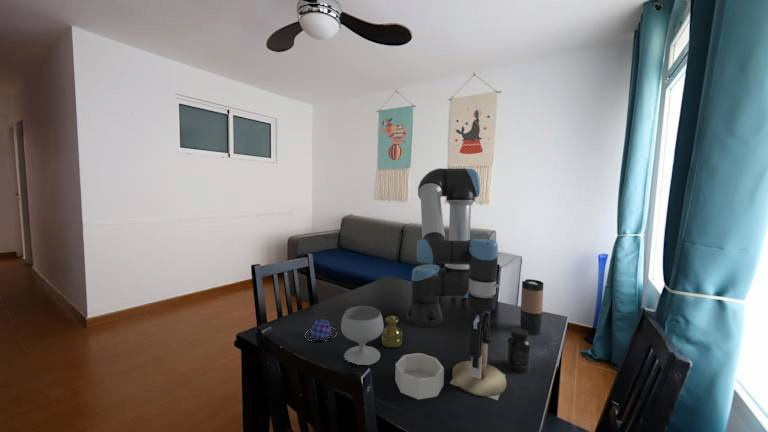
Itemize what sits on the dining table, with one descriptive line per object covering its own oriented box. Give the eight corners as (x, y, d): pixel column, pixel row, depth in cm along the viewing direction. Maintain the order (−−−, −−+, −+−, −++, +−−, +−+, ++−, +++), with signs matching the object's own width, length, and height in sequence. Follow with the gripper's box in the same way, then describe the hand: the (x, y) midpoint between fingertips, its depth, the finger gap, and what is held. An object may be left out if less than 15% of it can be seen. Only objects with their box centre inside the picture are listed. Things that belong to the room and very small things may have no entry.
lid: (445, 384, 84) (446, 350, 83) (460, 358, 97) (461, 329, 96) (501, 403, 76) (502, 366, 75) (510, 373, 89) (511, 341, 88)
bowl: (388, 388, 82) (389, 369, 82) (409, 366, 93) (409, 349, 93) (431, 406, 76) (432, 385, 75) (447, 379, 86) (448, 361, 86)
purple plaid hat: (343, 332, 116) (343, 319, 115) (323, 346, 105) (323, 332, 104) (319, 325, 121) (318, 313, 121) (298, 338, 110) (297, 324, 110)
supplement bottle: (502, 361, 96) (503, 326, 95) (522, 361, 97) (523, 325, 96) (512, 374, 89) (514, 336, 88) (534, 373, 90) (536, 335, 89)
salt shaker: (404, 340, 110) (404, 313, 109) (398, 350, 103) (399, 322, 102) (385, 336, 112) (385, 311, 111) (378, 346, 105) (379, 319, 104)
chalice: (391, 360, 96) (392, 315, 95) (352, 374, 89) (353, 325, 87) (369, 341, 108) (370, 301, 107) (334, 352, 100) (334, 309, 99)
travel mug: (543, 336, 114) (546, 285, 112) (522, 334, 115) (524, 284, 114) (537, 327, 121) (540, 279, 120) (517, 325, 123) (519, 278, 121)
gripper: (488, 307, 74) (484, 394, 76) (501, 286, 91) (498, 358, 93) (458, 301, 78) (455, 384, 80) (477, 282, 95) (474, 351, 97)
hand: (478, 370), depth 86 cm, fingers open, 7 cm apart
